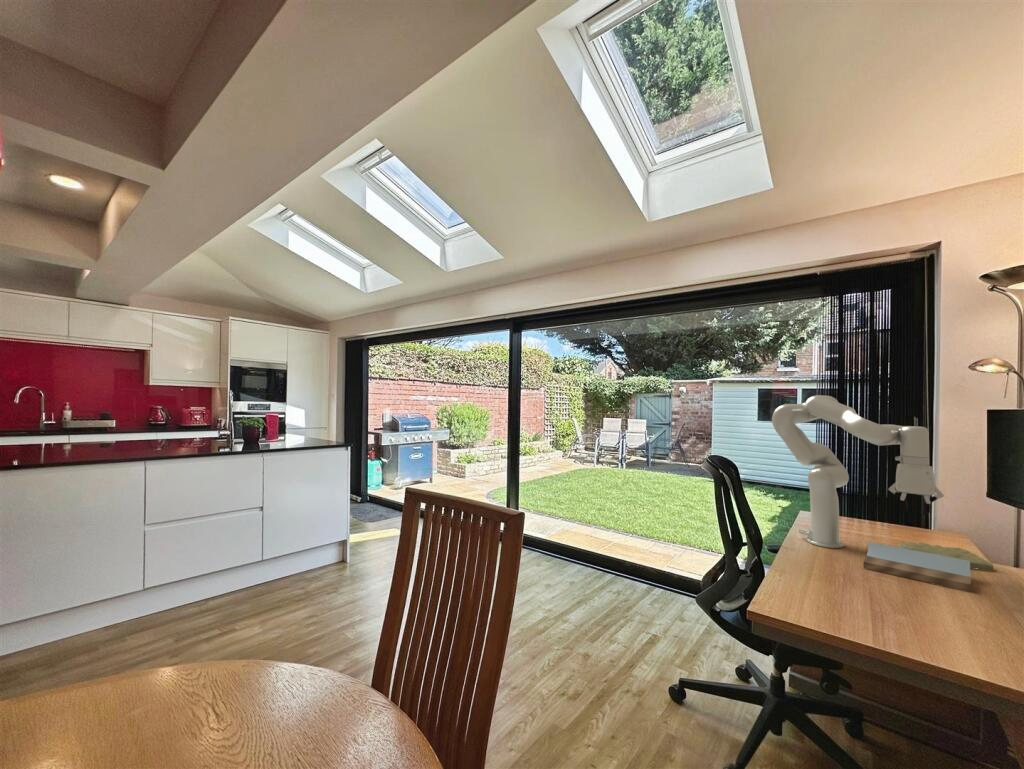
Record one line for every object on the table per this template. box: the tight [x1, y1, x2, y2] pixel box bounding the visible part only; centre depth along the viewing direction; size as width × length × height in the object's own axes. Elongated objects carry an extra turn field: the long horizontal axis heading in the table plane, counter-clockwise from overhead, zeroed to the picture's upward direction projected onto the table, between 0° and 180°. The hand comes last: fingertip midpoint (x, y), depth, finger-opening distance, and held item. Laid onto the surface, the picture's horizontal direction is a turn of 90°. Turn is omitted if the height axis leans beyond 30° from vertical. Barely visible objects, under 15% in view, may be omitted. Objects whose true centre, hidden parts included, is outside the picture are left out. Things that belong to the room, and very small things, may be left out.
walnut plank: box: [863, 555, 972, 593], centre depth 146 cm, size 26×8×2 cm, turn 45°
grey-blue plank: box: [866, 541, 972, 577], centre depth 152 cm, size 26×8×2 cm, turn 45°
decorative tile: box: [897, 541, 994, 572], centre depth 163 cm, size 19×20×4 cm
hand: (915, 512), depth 154 cm, fingers open, 4 cm apart
